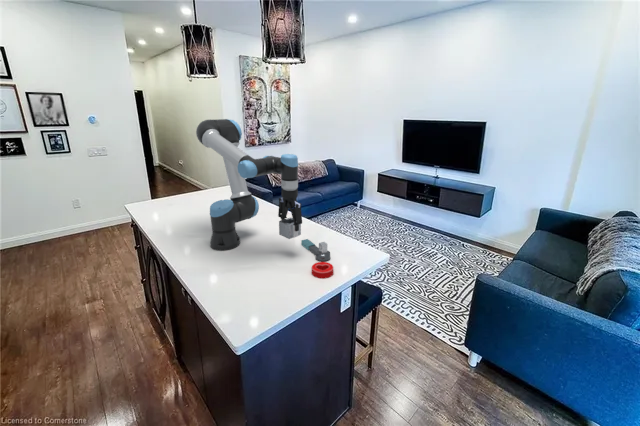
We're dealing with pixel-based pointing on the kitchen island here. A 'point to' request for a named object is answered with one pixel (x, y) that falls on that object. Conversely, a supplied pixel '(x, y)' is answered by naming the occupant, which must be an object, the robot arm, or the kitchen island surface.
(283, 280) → the kitchen island surface
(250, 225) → the kitchen island surface
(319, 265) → the decorative ornament
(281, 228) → the hollow square tube
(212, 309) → the kitchen island surface
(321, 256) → the ratchet
